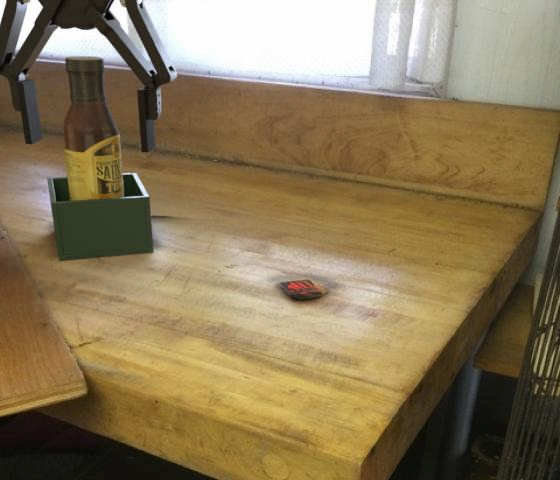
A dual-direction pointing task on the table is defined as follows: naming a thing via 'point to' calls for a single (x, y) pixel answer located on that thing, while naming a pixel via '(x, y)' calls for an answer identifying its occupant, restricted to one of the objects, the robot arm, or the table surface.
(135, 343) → the table surface
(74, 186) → the sauce bottle
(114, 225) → the bin
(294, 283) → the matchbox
